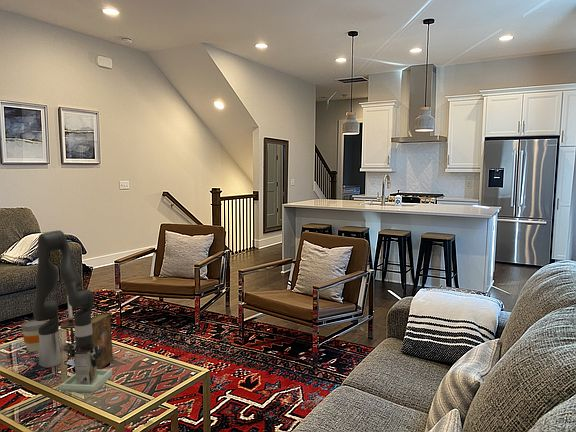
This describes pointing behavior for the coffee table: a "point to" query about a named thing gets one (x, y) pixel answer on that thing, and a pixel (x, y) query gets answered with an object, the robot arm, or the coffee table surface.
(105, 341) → the book
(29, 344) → the reusable coffee cup
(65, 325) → the candlestick
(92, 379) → the coffee box
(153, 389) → the coffee table surface
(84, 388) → the tray
